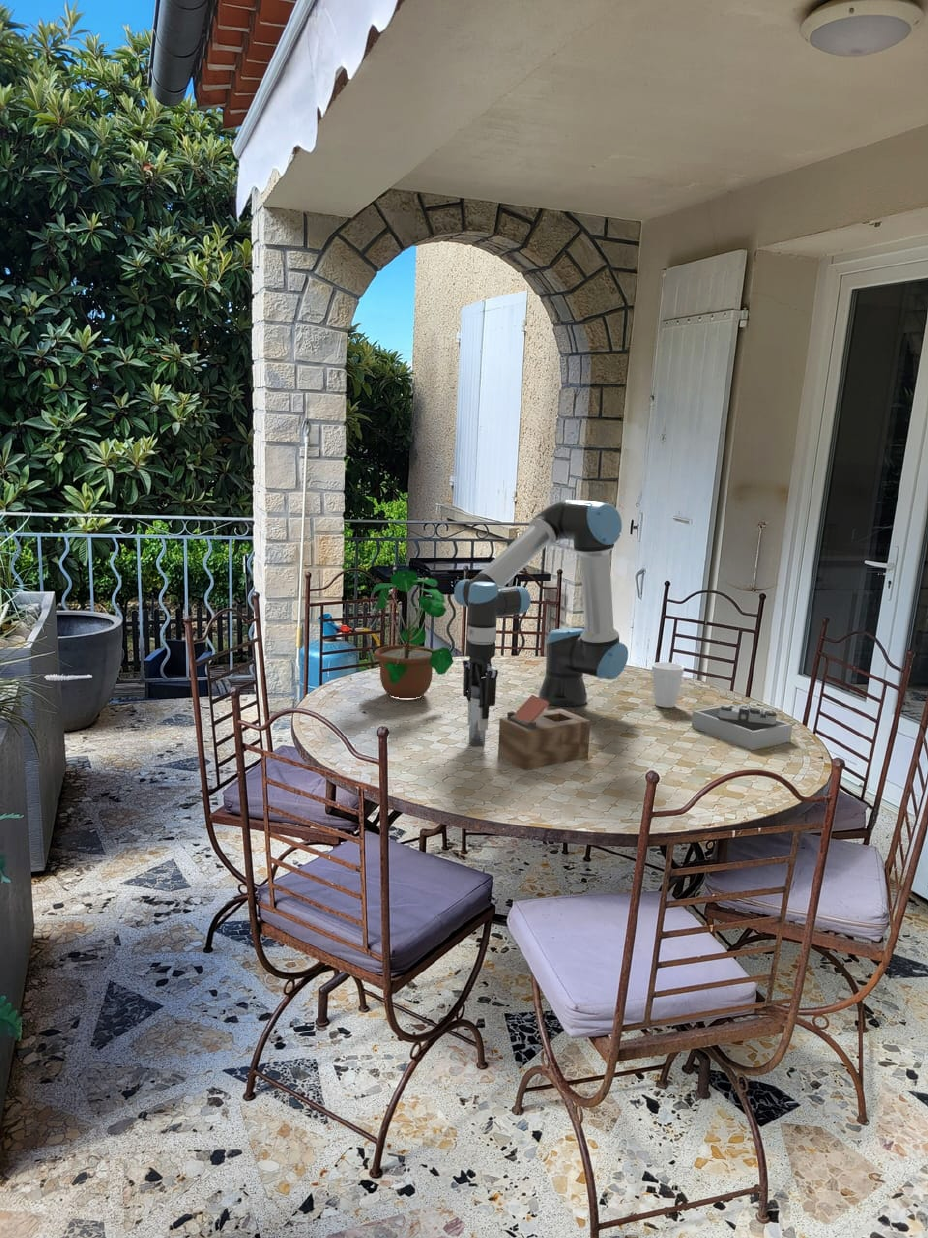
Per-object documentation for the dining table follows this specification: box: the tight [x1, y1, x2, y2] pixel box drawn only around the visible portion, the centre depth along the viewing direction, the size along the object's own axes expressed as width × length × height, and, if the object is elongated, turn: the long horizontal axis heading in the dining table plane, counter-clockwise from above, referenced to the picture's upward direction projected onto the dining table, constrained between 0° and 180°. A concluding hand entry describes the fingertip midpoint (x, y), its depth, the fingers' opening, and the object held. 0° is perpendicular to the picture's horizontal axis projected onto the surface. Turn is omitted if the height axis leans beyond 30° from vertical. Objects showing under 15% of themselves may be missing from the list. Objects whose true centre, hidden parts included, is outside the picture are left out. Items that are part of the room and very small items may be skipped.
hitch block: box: [497, 708, 591, 771], centre depth 225 cm, size 20×12×12 cm, turn 122°
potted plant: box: [371, 570, 454, 698], centre depth 275 cm, size 31×29×40 cm
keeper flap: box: [510, 694, 551, 727], centre depth 221 cm, size 8×7×1 cm
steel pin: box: [468, 684, 487, 748], centre depth 233 cm, size 4×4×16 cm
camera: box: [718, 703, 778, 731], centre depth 249 cm, size 16×10×10 cm, turn 72°
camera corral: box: [691, 704, 793, 751], centre depth 251 cm, size 16×22×5 cm
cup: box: [651, 661, 685, 708], centre depth 276 cm, size 10×10×13 cm
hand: (477, 727), depth 234 cm, fingers closed on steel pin, 4 cm apart
